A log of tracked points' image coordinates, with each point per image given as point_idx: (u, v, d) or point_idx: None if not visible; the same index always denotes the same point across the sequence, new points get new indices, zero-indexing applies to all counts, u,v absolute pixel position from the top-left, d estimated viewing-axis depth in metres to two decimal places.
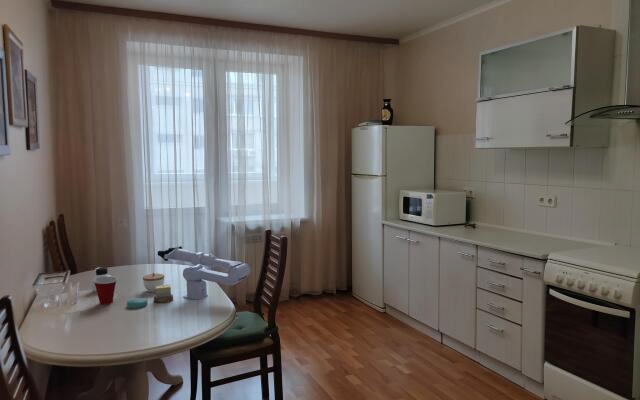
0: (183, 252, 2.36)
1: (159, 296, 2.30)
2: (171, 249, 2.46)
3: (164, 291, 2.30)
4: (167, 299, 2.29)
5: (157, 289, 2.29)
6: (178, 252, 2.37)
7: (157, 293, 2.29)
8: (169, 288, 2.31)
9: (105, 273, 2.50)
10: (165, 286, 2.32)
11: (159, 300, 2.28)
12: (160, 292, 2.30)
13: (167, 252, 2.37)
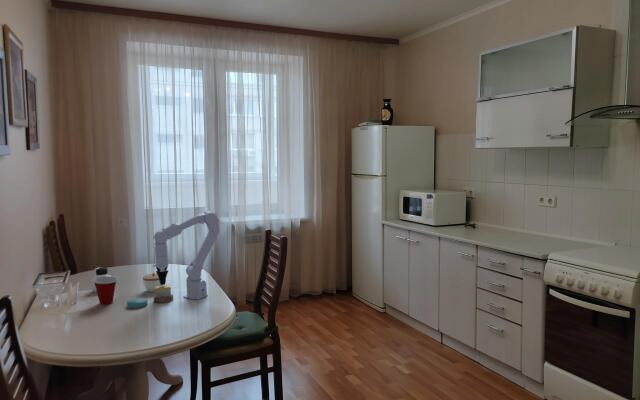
0: (156, 254, 2.28)
1: (159, 296, 2.30)
2: None
3: (164, 291, 2.30)
4: (167, 299, 2.29)
5: (157, 289, 2.29)
6: (157, 260, 2.28)
7: (157, 293, 2.29)
8: (169, 288, 2.31)
9: (105, 273, 2.50)
10: (165, 286, 2.32)
11: (159, 300, 2.28)
12: (160, 292, 2.30)
13: (158, 271, 2.26)
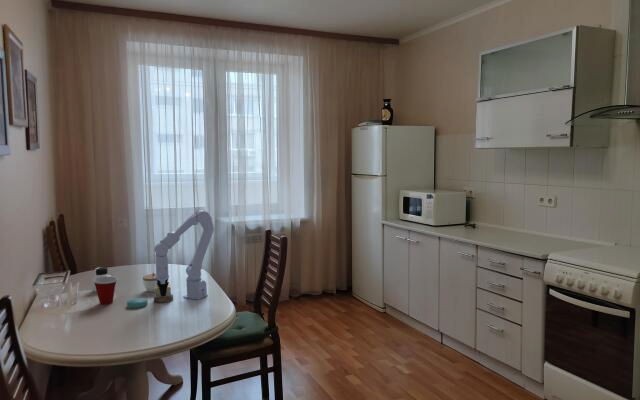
0: (157, 266, 2.28)
1: (159, 296, 2.30)
2: None
3: None
4: (167, 299, 2.29)
5: (157, 289, 2.29)
6: (158, 272, 2.29)
7: (157, 293, 2.29)
8: (169, 288, 2.31)
9: (105, 273, 2.50)
10: None
11: (159, 300, 2.28)
12: None
13: (159, 283, 2.27)
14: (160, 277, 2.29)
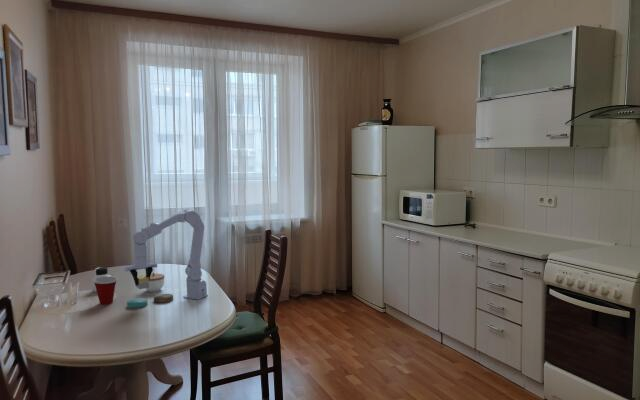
0: (136, 254, 2.22)
1: None
2: None
3: None
4: (167, 299, 2.29)
5: None
6: None
7: None
8: (138, 280, 2.22)
9: (105, 273, 2.50)
10: (141, 277, 2.24)
11: (159, 300, 2.28)
12: None
13: None
14: (134, 265, 2.24)
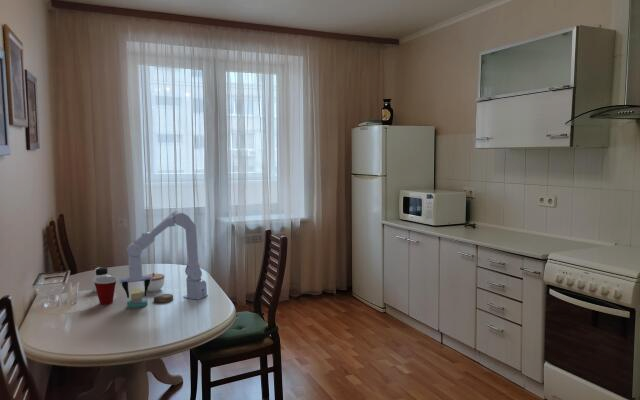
0: (130, 267, 2.21)
1: None
2: None
3: None
4: (167, 299, 2.29)
5: None
6: None
7: None
8: (131, 295, 2.21)
9: (105, 273, 2.50)
10: (135, 292, 2.23)
11: (159, 300, 2.28)
12: None
13: None
14: None
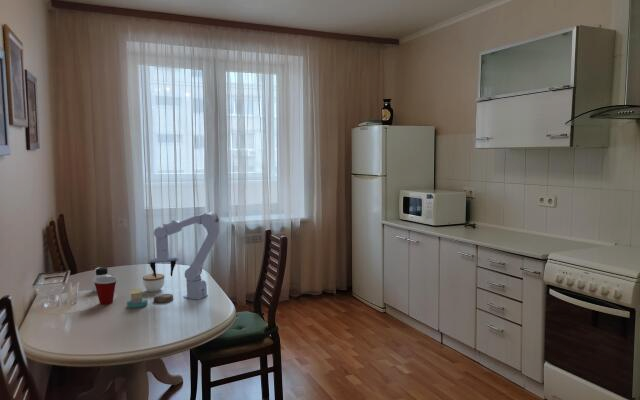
0: (156, 248, 2.35)
1: None
2: None
3: None
4: (167, 299, 2.29)
5: None
6: None
7: None
8: (131, 295, 2.21)
9: (105, 273, 2.50)
10: (135, 292, 2.23)
11: (159, 300, 2.28)
12: None
13: None
14: None
